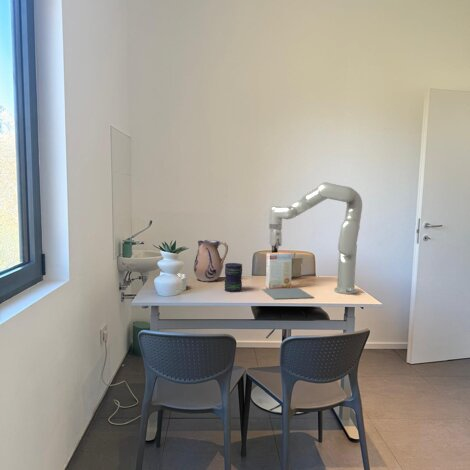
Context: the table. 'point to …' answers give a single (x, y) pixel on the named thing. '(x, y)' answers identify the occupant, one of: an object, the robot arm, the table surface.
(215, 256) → the ceramic pitcher
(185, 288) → the white gift box
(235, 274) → the storage jar
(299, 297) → the mat
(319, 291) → the table surface
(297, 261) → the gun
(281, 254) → the cracker box
